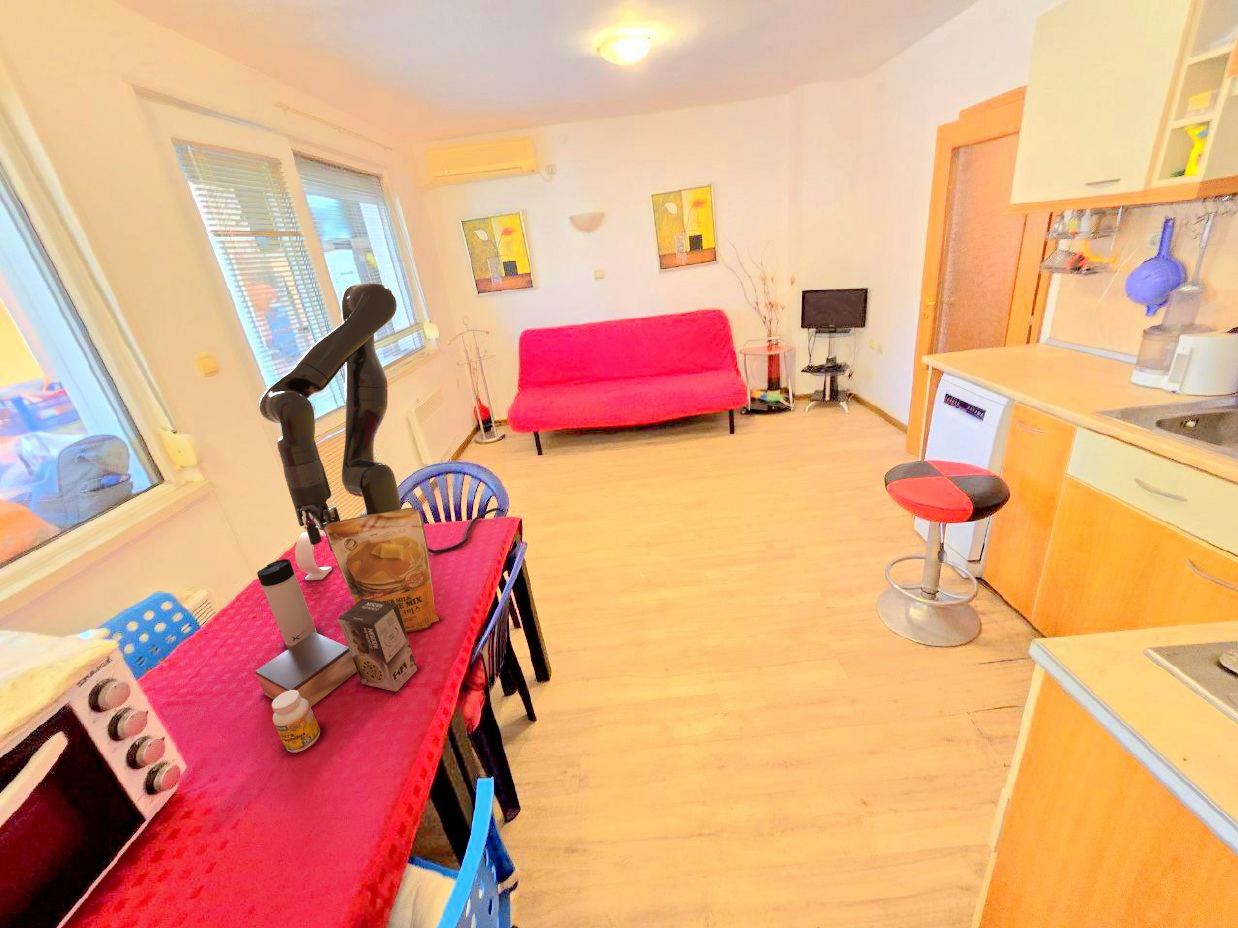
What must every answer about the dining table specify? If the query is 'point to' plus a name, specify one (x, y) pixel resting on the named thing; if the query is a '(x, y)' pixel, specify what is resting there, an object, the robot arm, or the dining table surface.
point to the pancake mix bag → (387, 562)
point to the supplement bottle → (295, 721)
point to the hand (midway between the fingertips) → (326, 546)
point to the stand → (308, 669)
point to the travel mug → (286, 601)
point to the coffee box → (378, 644)
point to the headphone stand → (308, 559)
